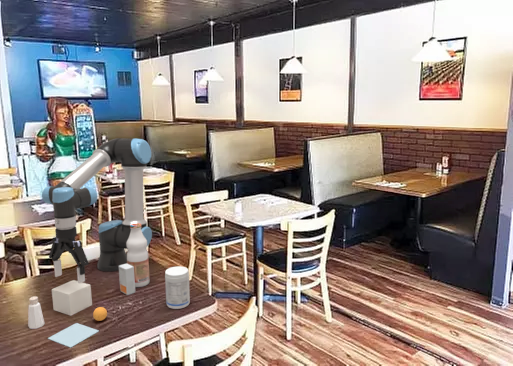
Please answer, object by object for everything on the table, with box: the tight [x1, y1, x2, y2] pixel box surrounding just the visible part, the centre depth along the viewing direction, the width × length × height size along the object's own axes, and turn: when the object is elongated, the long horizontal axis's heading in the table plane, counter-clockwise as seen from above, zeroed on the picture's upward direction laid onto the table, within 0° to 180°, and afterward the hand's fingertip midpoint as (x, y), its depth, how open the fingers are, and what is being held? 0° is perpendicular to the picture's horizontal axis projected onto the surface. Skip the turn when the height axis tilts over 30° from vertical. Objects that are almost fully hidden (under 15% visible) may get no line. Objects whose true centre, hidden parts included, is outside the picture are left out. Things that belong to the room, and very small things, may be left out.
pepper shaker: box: [27, 295, 45, 330], centre depth 156 cm, size 5×5×11 cm
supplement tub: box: [164, 265, 191, 310], centre depth 172 cm, size 10×10×15 cm
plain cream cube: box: [51, 279, 93, 317], centre depth 170 cm, size 10×10×9 cm
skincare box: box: [118, 263, 136, 296], centre depth 184 cm, size 6×4×12 cm
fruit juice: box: [126, 223, 151, 288], centre depth 191 cm, size 9×9×28 cm
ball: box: [92, 306, 108, 322], centre depth 160 cm, size 5×5×5 cm
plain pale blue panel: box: [47, 322, 100, 349], centre depth 151 cm, size 12×12×1 cm
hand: (69, 278), depth 169 cm, fingers open, 13 cm apart
